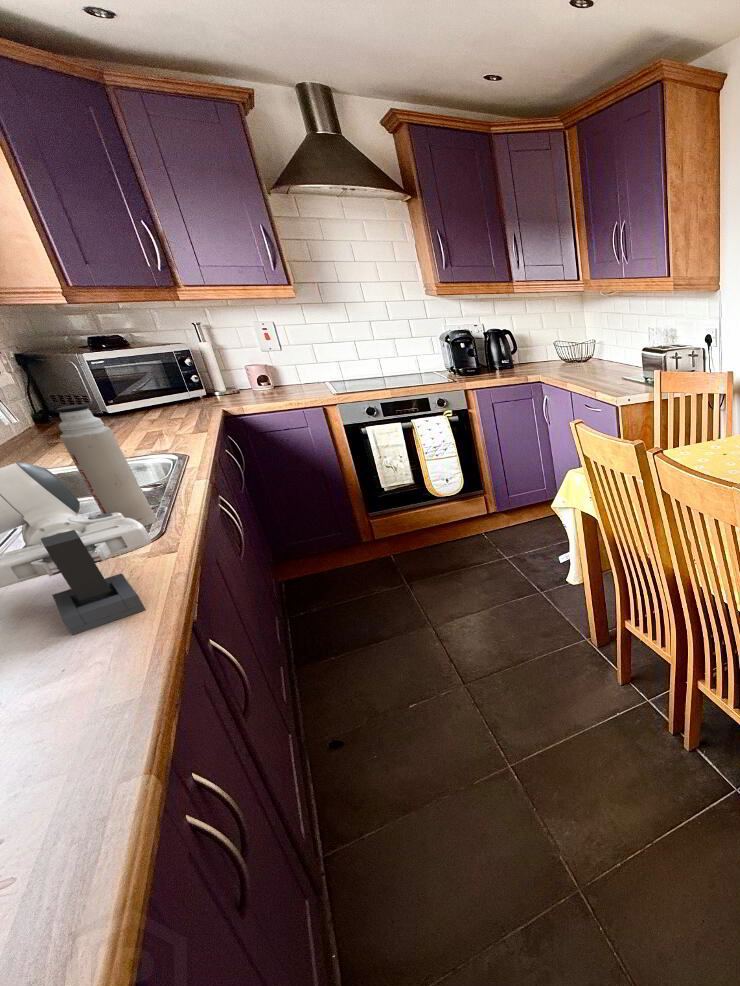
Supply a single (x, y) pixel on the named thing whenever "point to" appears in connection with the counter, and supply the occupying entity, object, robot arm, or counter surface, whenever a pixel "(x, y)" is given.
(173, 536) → the counter surface
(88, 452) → the thermos bottle
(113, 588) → the slotted base pad
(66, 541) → the dark grey rectangular block
